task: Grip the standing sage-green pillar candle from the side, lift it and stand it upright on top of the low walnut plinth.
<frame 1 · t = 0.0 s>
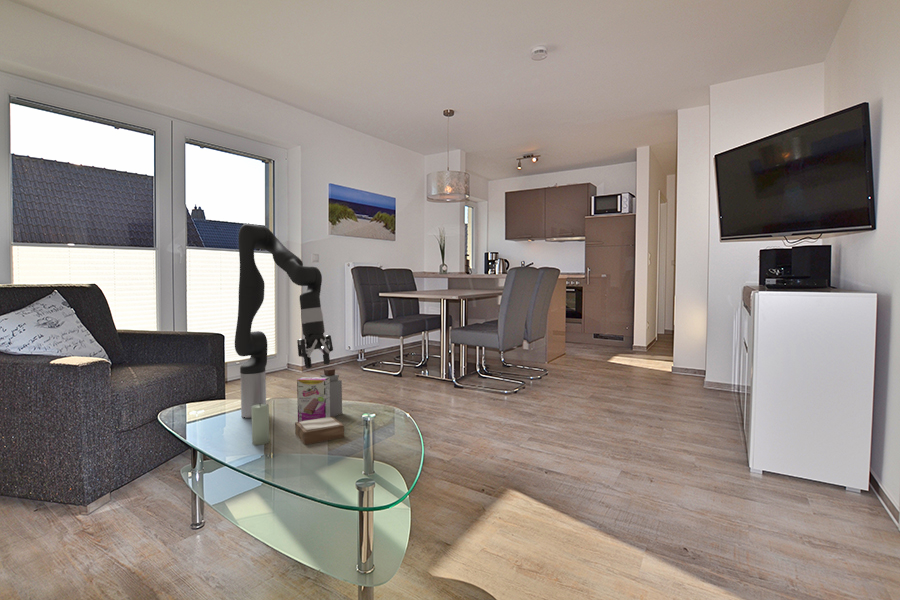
hand: (318, 366, 162), 22 cm above the table, tool pointing down, fingers open, 8 cm apart
perfume bottle: (330, 414, 181), on the table
candy bar box: (314, 421, 171), on the table
walnut plinth: (319, 435, 155), on the table
pillar candle: (261, 442, 149), on the table
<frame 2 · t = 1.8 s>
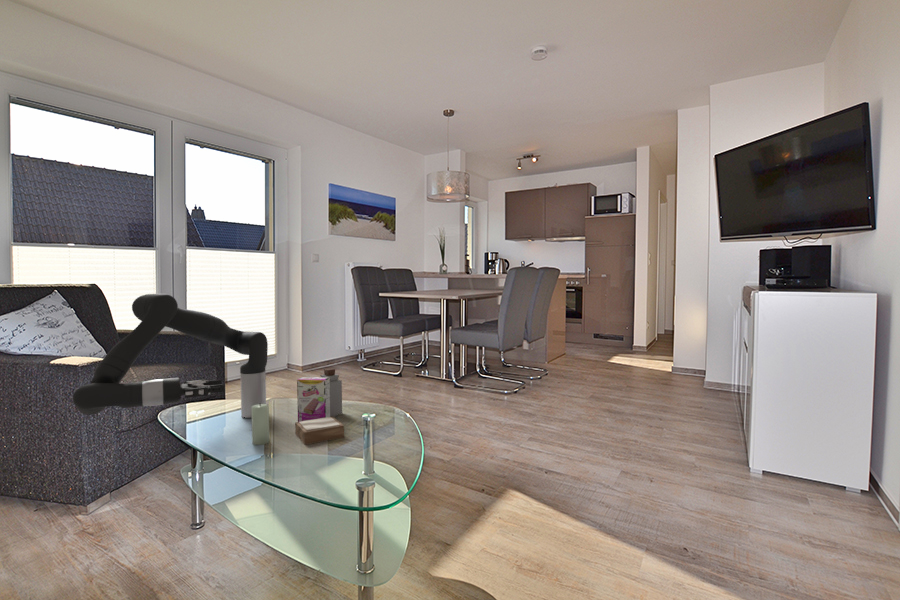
hand: (222, 385, 142), 20 cm above the table, tool horizontal, fingers open, 8 cm apart
nothing on the table moved.
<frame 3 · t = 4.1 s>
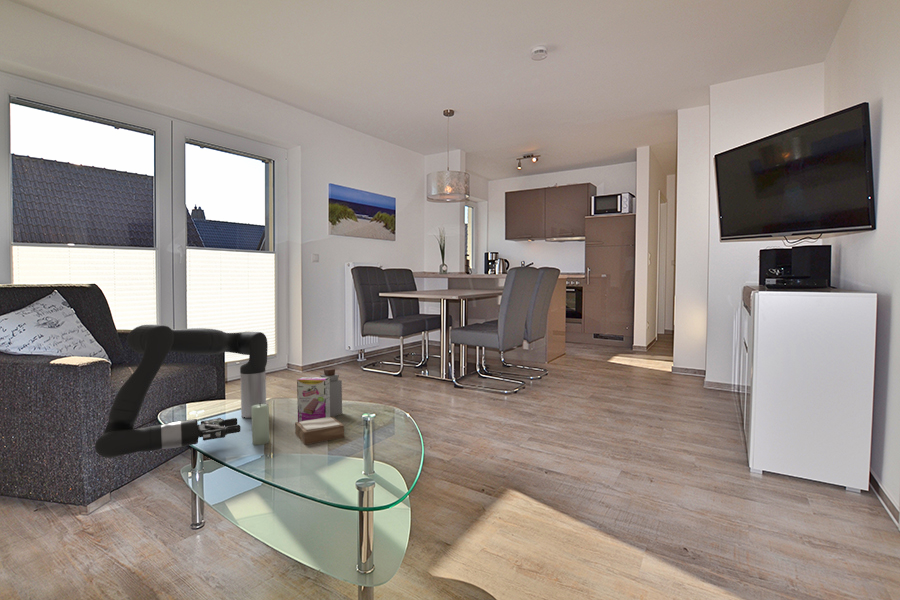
hand: (238, 424, 145), 7 cm above the table, tool horizontal, fingers open, 8 cm apart
nothing on the table moved.
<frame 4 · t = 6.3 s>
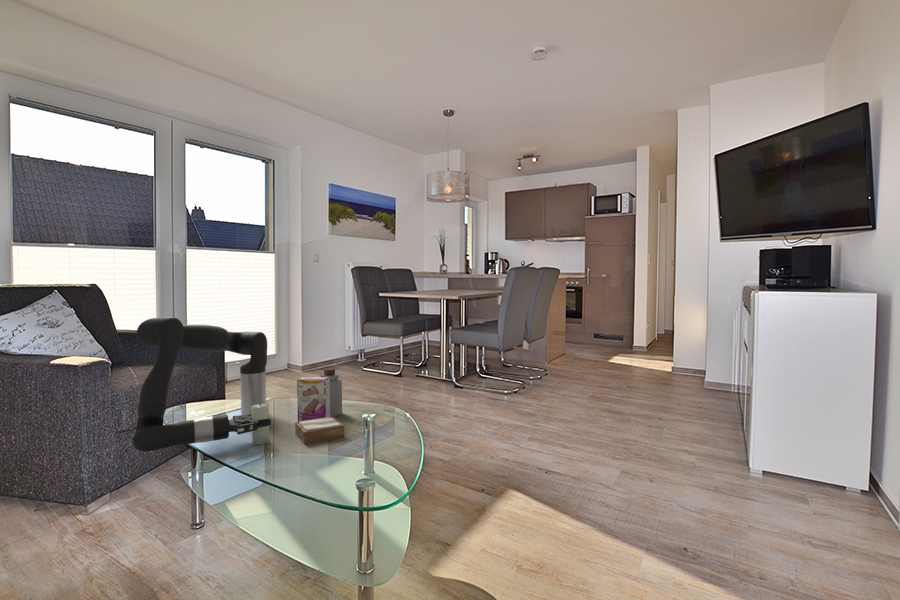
hand: (268, 419, 150), 7 cm above the table, tool horizontal, fingers closed on pillar candle, 5 cm apart
pillar candle: (261, 442, 149), on the table, touching gripper
everything else where it was.
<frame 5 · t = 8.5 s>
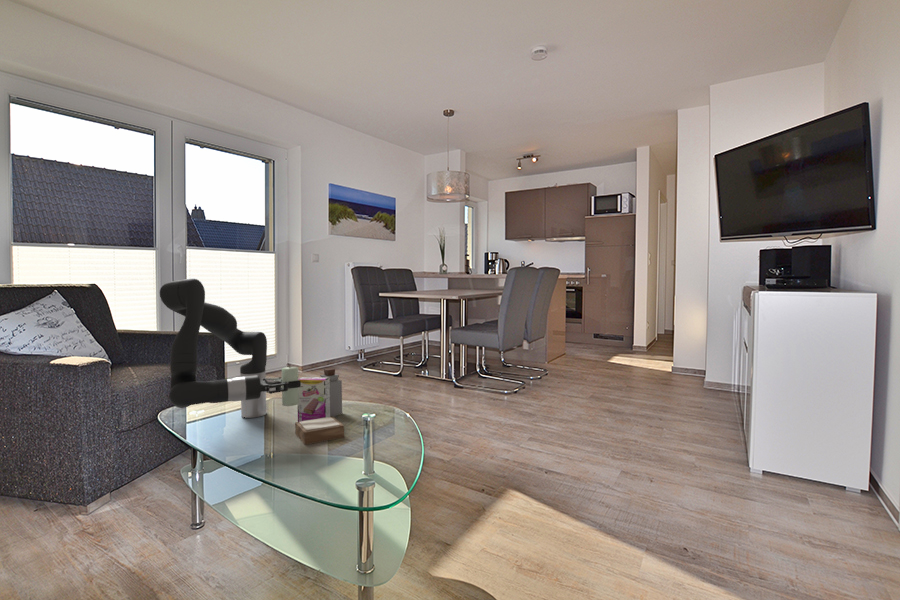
hand: (298, 382, 152), 19 cm above the table, tool horizontal, fingers closed on pillar candle, 5 cm apart
pillar candle: (290, 403, 151), point 12 cm above the table, touching gripper
everything else where it was.
when the fingers open (12 cm above the table, at t = 11.0 s): pillar candle stays where it is, resting on walnut plinth.
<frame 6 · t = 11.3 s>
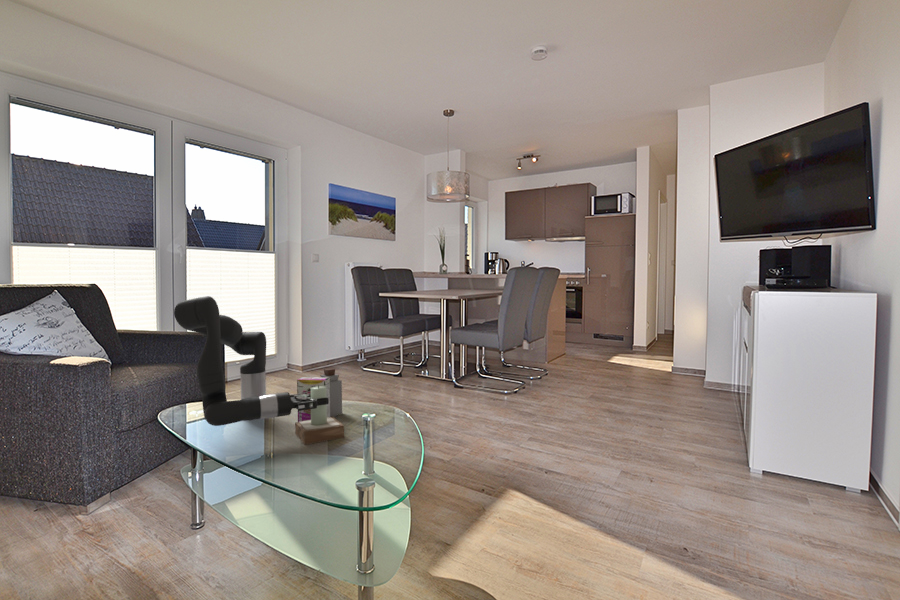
hand: (324, 398, 155), 12 cm above the table, tool horizontal, fingers open, 7 cm apart
pillar candle: (318, 423, 154), point 4 cm above the table, touching walnut plinth
everything else where it was.
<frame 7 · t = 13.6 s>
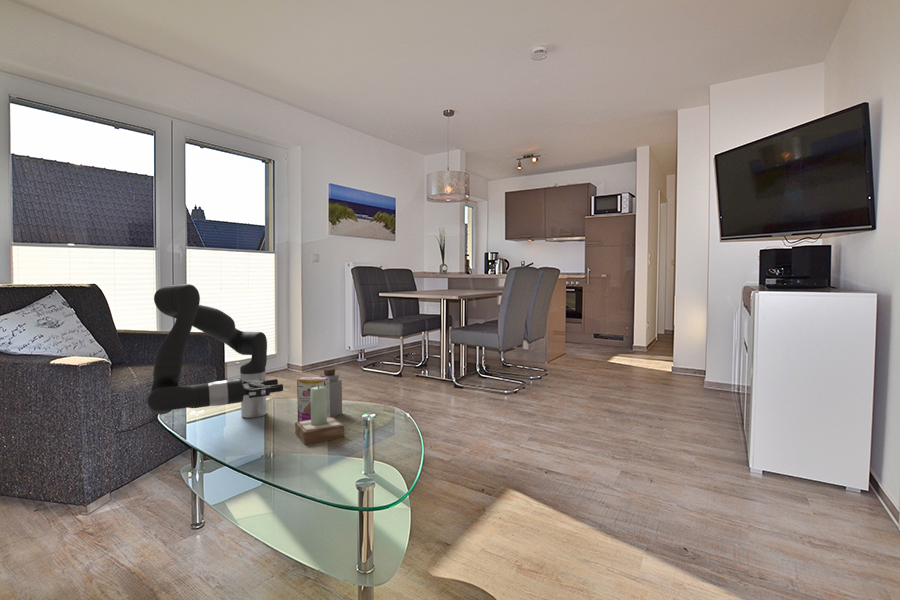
hand: (280, 384, 148), 19 cm above the table, tool horizontal, fingers open, 8 cm apart
nothing on the table moved.
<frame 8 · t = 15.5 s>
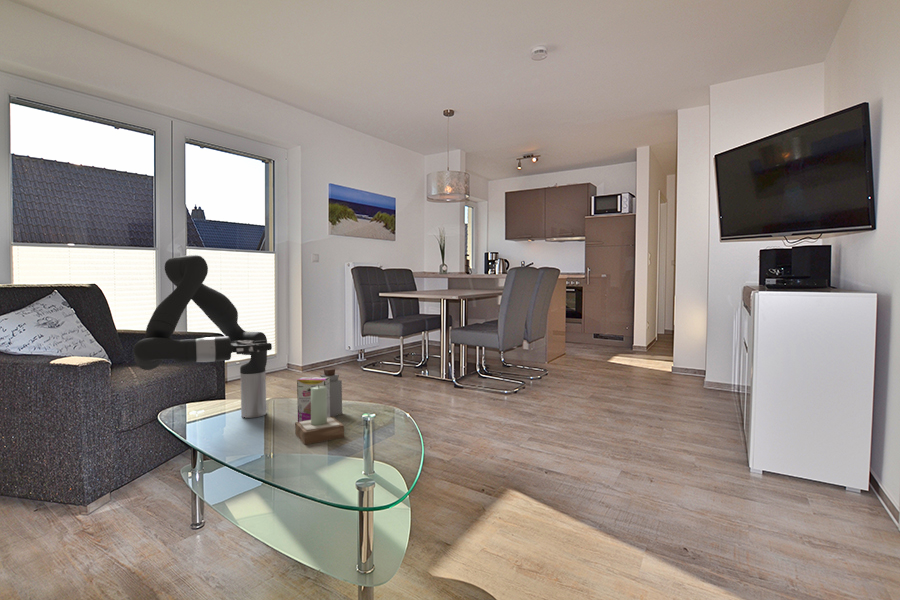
hand: (269, 345, 147), 32 cm above the table, tool horizontal, fingers open, 8 cm apart
nothing on the table moved.
at the end: pillar candle inside the target area on the walnut plinth (0.1 cm from its centre), point 4.4 cm above the walnut plinth's base; pillar candle tilted 1°; the gripper is holding nothing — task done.
